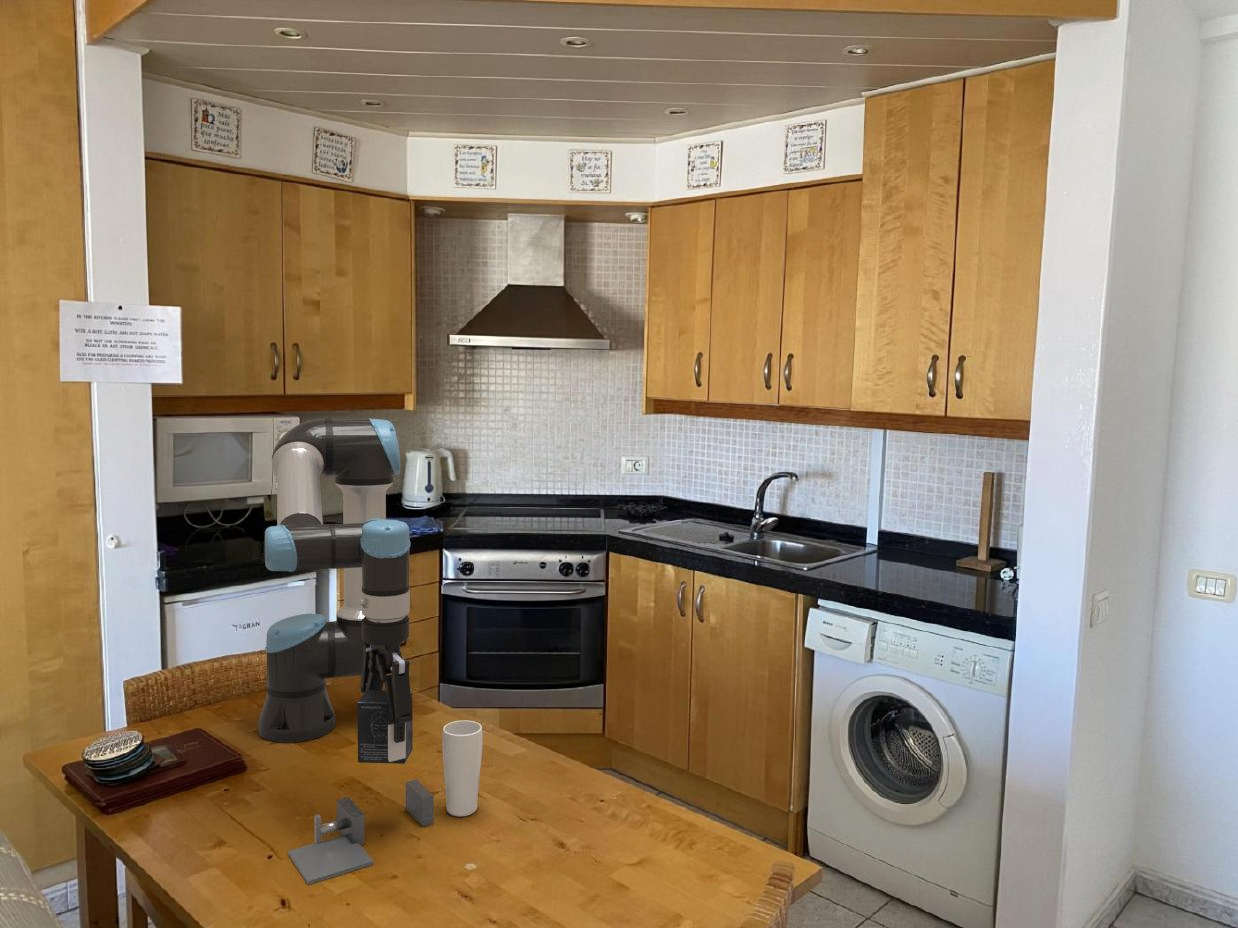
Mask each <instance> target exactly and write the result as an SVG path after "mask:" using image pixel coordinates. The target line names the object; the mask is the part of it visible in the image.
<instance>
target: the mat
mask: <svg viewBox="0 0 1238 928" xmlns="http://www.w3.org/2000/svg"><path fill="white" fill-rule="evenodd" d="M287 856H288V857H289V858H290V859H291V861H292V863H293V864H294V866H295V867H296V869H297V870H298V872H299V873H300V875H301V876H302V878H303V879H304V881H305V883H306V884H307V885H308V886H309V885H313V884H316V883H318V882H322V881H326V880H328V879H332V878H336V877H338V876H341V875H345V874H348V873H350V872H351V873H352V872H354V871H358V870H360V869H365V868H368V867H370V866H374V860H373V859H372V857H371V856H370V855H369V853H367V851H366V850H365V849H364V848H363V846H362V845H360V844H359V843H355V844H352V843H351V842H350V841H349V840H348V838H347V837H346V836H345V835H342V834H341V835H339V836H335V837H332V838H329V839H325V840H321V843H318V844H316V843H315V842H314V843H311V844H307V845H304V846H301V847H298V848H293V849H290V850H287Z"/></svg>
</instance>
